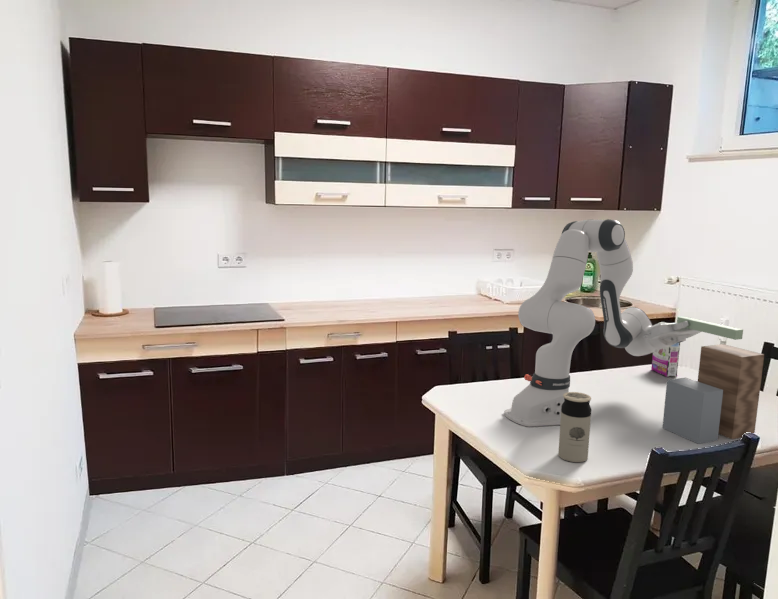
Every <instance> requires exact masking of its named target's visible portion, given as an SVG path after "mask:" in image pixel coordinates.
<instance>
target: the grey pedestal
mask: <svg viewBox="0 0 778 599" xmlns="http://www.w3.org/2000/svg"><path fill="white" fill-rule="evenodd" d="M722 397H723V390H722V389H719V388H716V387H713V386H710V385H707V384H704V383H701V382H698V380H697V381H696V380H694V379H691V378H688V377H681V378H680V377H679V378H673V379H672V378H671V379H667V380H666V387H665V399H664V408H663V419H662V427H661V428H662V429H663V430H666V431H668V432H671V433H673V434H675V435H677V436H679V437H682V438H684V439H686V440H688V441H690V442H693V443H696V444H697V445H701V444H706V443H710V442H717V441H718V440H719V438H718V437H719V434H718V432H719V423H720V414H721V405H722Z"/></svg>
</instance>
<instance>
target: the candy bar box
mask: <svg viewBox="0 0 778 599" xmlns="http://www.w3.org/2000/svg"><path fill="white" fill-rule="evenodd" d="M680 347H681V342H680V343H676V344H674V345H671V346H669V347H666V348H663V349H660V350H656V351H655V352H653V353H652V357H651V358H652V359H651V366H650V367H651V370H650V371H653V372H655V373H657V374H659V375H662V376H664V377H666V378H677V377H678V368H679V360H680V358H679V357H680V356H679V355H680V349H681V348H680Z"/></svg>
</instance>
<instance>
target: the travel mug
mask: <svg viewBox="0 0 778 599" xmlns="http://www.w3.org/2000/svg"><path fill="white" fill-rule="evenodd" d="M563 397H564V402H563V404H562V406H561V421H560V426H559V436H558V437H559V438H558V451H557V452H558V453H557V456H559V458H561V459H562V460H564V461H567V462H570V463H582V462H585V461H587V460H588V459H589V446H590V433H591V421H592V420H591V419H592V407H591V405H590V402H591V401H592V396H590V395H589V394H587V393H584V392H579V391H569V392H567V393H564V394H563Z"/></svg>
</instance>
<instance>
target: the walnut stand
mask: <svg viewBox="0 0 778 599" xmlns="http://www.w3.org/2000/svg"><path fill="white" fill-rule="evenodd" d="M764 360H765V353H760V352H756V351H752V350H749V349H745V348H739V347H738V346H737V347H736V346H732V345H728V344H725V343H720V344H710V345H704V346H703V345H701V346H700V355H699V366H698V374H697V375H698V376H697V381H698V382H701V383H704V384H707V385H710V386H713V387H716V388H719V389H722V390H723V397H722V405H721V414H720V423H719V432H718V435H721V436H723V437H726V438H728V439H730V440H735V439H739V438H743V437H742V435H743V434H744V433H746V432H751V433H755V431H756V424H757V416H758V408H759V402H760V393H761V385H762V375H763V369H764Z"/></svg>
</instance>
